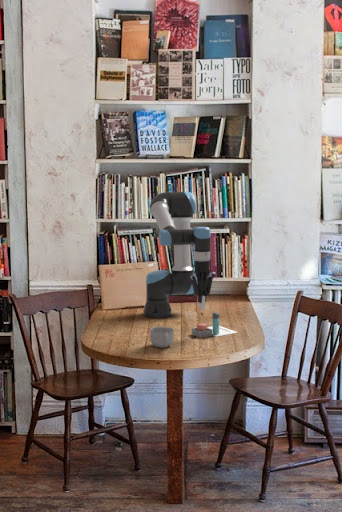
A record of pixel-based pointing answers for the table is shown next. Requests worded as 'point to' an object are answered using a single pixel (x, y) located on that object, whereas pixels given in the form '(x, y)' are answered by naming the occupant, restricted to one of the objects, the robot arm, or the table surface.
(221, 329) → the paper
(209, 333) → the button housing
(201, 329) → the button
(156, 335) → the teacup
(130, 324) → the table surface
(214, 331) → the marker
